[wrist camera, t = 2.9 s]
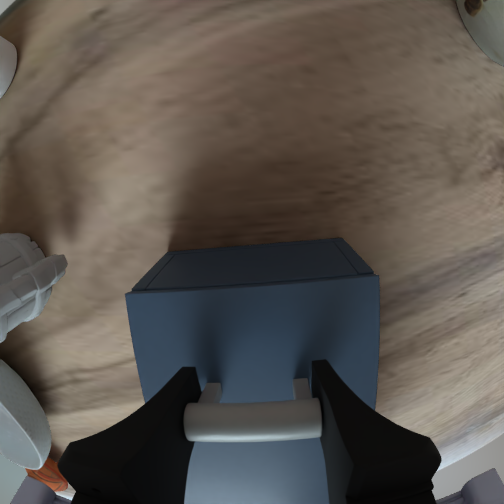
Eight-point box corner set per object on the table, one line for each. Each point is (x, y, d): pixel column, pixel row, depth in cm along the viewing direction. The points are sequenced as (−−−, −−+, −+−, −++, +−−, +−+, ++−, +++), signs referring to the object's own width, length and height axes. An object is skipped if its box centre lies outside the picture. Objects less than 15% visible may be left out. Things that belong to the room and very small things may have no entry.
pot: (85, 482, 31) (63, 508, 25) (51, 458, 33) (29, 482, 27) (67, 456, 29) (40, 485, 23) (32, 430, 31) (6, 455, 24)
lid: (357, 501, 14) (371, 548, 10) (183, 508, 15) (167, 553, 10) (374, 273, 14) (417, 288, 9) (130, 291, 14) (80, 310, 10)
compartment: (335, 402, 24) (349, 457, 18) (202, 410, 24) (190, 465, 18) (342, 237, 20) (374, 271, 14) (166, 251, 20) (130, 288, 14)
